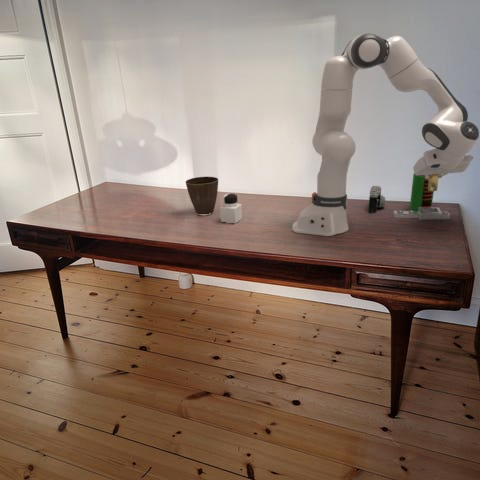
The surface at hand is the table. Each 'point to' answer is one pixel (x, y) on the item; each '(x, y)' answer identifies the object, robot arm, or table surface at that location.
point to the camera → (375, 199)
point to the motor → (420, 193)
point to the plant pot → (203, 193)
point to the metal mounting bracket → (423, 214)
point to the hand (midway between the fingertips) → (432, 176)
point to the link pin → (433, 182)
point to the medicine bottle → (231, 209)
